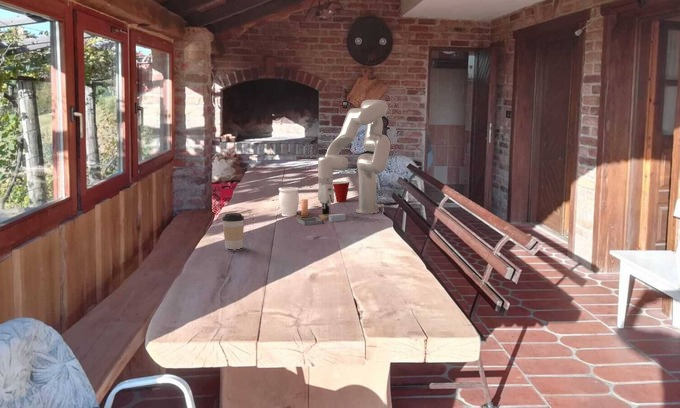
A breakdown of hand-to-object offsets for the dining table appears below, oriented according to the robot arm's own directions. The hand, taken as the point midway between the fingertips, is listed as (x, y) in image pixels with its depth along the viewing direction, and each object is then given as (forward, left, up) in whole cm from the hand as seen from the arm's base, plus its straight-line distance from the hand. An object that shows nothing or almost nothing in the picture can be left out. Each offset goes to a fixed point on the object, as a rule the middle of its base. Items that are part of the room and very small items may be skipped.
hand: (325, 215), depth 350 cm
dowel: (+13, +2, 0) cm, 13 cm away
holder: (+13, +2, -1) cm, 13 cm away
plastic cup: (-30, -41, -1) cm, 51 cm away
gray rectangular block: (0, +13, -1) cm, 13 cm away
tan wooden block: (+1, +6, -2) cm, 6 cm away
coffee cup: (+63, +41, -1) cm, 75 cm away
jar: (+15, -13, -1) cm, 20 cm away
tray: (+14, +11, -1) cm, 18 cm away
